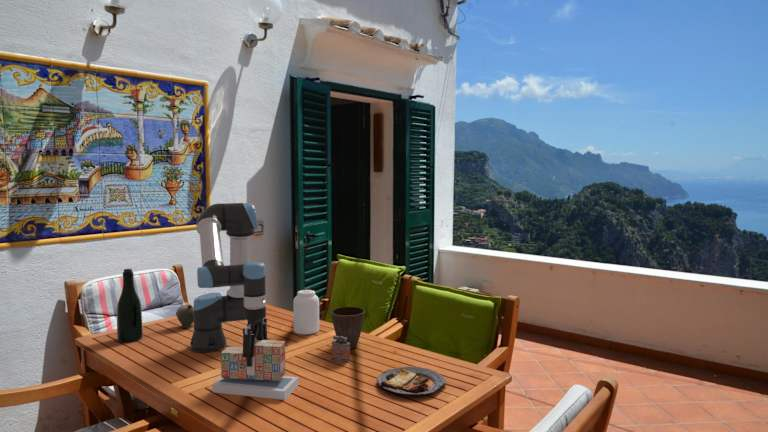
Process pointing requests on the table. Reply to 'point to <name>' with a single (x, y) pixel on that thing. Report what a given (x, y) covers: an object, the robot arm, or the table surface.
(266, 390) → the base board
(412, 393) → the food plate
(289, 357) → the table surface
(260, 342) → the stack of blocks
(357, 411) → the table surface
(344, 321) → the plant pot
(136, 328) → the beer bottle
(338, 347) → the lighter
